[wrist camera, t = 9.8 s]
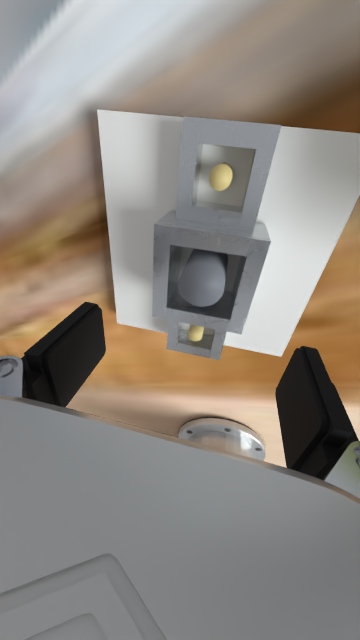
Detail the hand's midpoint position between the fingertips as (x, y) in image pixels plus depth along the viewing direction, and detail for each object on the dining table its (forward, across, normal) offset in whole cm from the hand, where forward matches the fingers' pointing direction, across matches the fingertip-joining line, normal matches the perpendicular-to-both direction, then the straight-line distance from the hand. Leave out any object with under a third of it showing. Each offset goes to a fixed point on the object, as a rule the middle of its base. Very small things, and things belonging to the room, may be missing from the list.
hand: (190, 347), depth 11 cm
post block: (+10, 0, -2) cm, 10 cm away
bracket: (+9, 0, -1) cm, 9 cm away
